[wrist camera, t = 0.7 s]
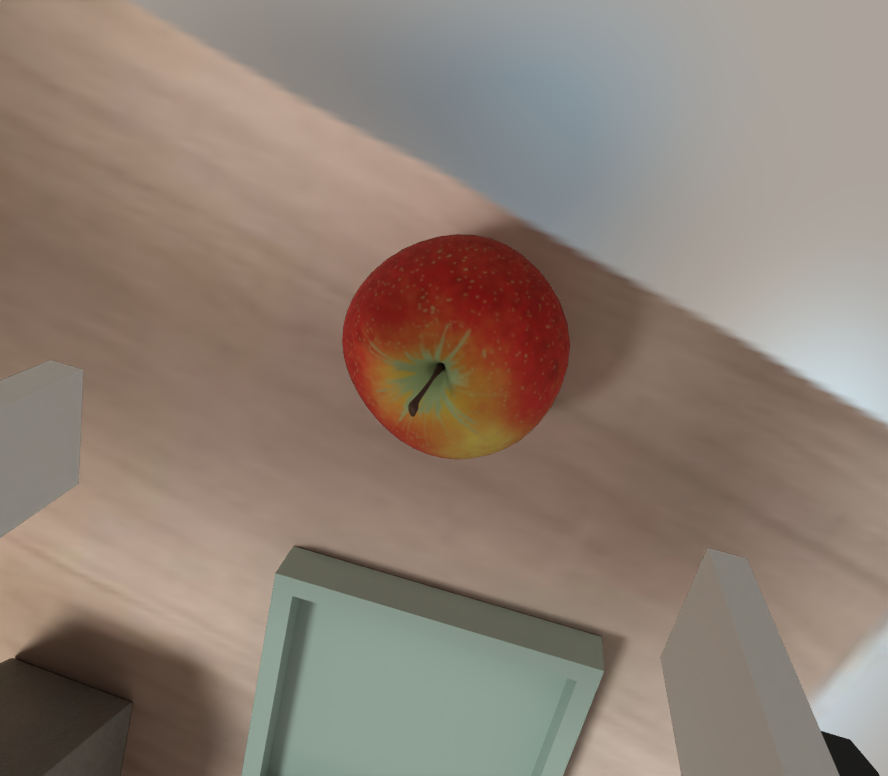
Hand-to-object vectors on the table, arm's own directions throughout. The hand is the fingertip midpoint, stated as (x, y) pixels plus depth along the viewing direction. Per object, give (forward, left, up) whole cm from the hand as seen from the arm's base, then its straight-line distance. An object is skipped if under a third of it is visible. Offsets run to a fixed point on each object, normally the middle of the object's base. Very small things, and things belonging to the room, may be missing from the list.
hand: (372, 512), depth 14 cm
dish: (+2, -22, -17) cm, 28 cm away
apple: (0, 0, -17) cm, 17 cm away
